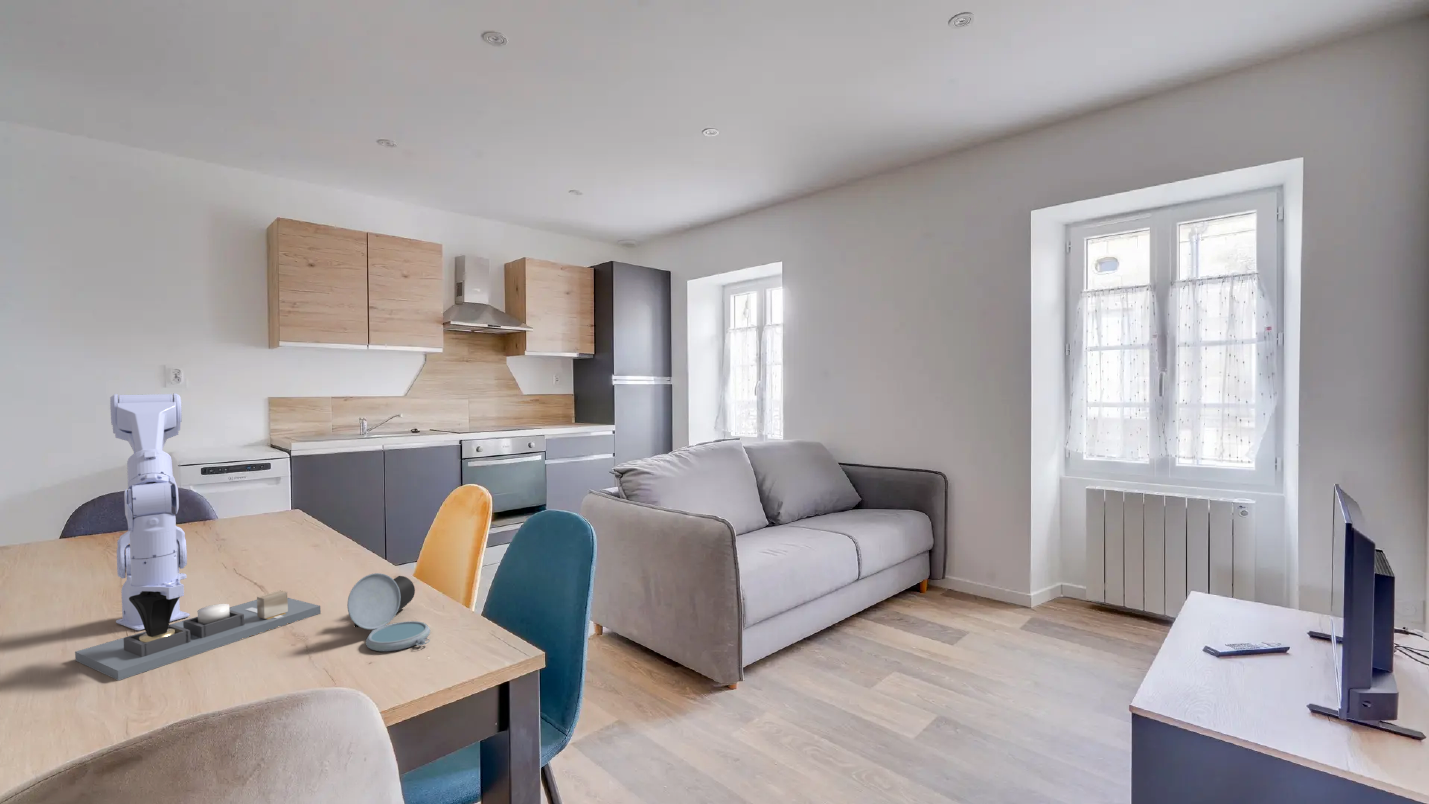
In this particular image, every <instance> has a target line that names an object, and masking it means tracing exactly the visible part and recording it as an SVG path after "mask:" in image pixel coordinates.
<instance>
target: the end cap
mask: <svg viewBox="0 0 1429 804" xmlns="http://www.w3.org/2000/svg"><path fill="white" fill-rule="evenodd" d="M392 579H393V578H392ZM393 580H394V581H395V582H396V583H397V585H398V587H399V590H400V596H401V599H400V606H399V609H398V611H397V613H398V612H400V611H401V610H403V608H405V607H406V606H407V605H408V604H409V603H411V601H412V600H413V599H414V597H415V593H416V589H415V584H414V583H413V581H412V580H411V579H409V578H408V577H406V576H403V575H398V576H397V577H394V579H393ZM353 626H355V627H354V628H360V627H359V626H358V625H356V624H355V623H354V622H353Z"/></svg>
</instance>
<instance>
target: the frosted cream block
mask: <svg viewBox="0 0 1429 804" xmlns="http://www.w3.org/2000/svg"><path fill="white" fill-rule="evenodd" d="M287 598H288V591H286V590H280V589H279V590H277V591H276V590H275V591H273V592H268V593H266V594H265V593H264V594H263V595H258V596H256V600H257V615H258V617H260V618H263V619H266V618H269V617H272V616H275V615H279V614H282V613H285V612H288V599H287Z"/></svg>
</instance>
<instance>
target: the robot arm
mask: <svg viewBox="0 0 1429 804" xmlns="http://www.w3.org/2000/svg"><path fill="white" fill-rule="evenodd" d="M109 399H110V400H109V404H110V405H109V406H110V408H109V409H110V424H111V427H112V433H113V434H115V435H114V436H115V438H116V439H119V440H122V441H123V440H124V441H127V442H128V443H129V445H130V447H131V449H132V451H133V454H131V456H129V458H128V459H127V461H126V462H127V463H126V466H127V467H126V469H127V470H126V471H127V473H126V474H127V488H125V489H124V493H123V494H124V495H123V496H124V497H123V498H124V514H125V518H126V522H127V531H126V532H124V533H122V534H121V535H120V536H119V539H117V543H116V544H117V548H116V571H117V577H119V578H120V579H126V580H125V582H124V583H123V585H122V587H121V591H120V592H121V612H122V618H119V619H116V620H115V623H116V624H118V625H121V626H124V627H126V628H129V629H132V630H135V631H142V630H144V632H145V631H146V633H147V635H148V636H150V637H153V636H157V635H160V634H164V633H166V632H167V630H168V627H169V625H170V624H171V623H170V622H173V621H177V620H180V619H185V618H188V617H190V616H191V614H190V613H188V612H185V611H182V610H181V607H180V598H181V597H184V596H185V588H184V587H185V586H184V584H183V583H181V580H185V579H187V574H186V573H182V572H181V573H180V570H181V569H184V568H185V567H186V566H187V564H188V552H187V551H188V550H187V540H186V533H185V531H184V530H183V528H181V527H180V526H177V523H176V522H177V519H176V517H177V516H176V515H177V514H178V512H179V507H180V503H179V502H180V501H179V499H180V498H179V488H178V484H177V482H176V478H175V476H174V472H173V471H174V470H173V460H172V459H173V458H172V457H171V455H170V454H169V453H168V452H166V451H164V447H165V444H166V443H167V440H169V439H171V438H173V437H176V436H178V435H179V431H181V423H182V418H183V417H182V416H183V415H182V411H183V410H182V398H181V395H179V394H178V393H177V392H174V393H162V394H161V393H150V394H149V393H148V394H146V393H145V394H118V393H114V394H113V395H112V396H110V397H109ZM172 507H173V508H174V510H175V514H174V513H173V512H172Z"/></svg>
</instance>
